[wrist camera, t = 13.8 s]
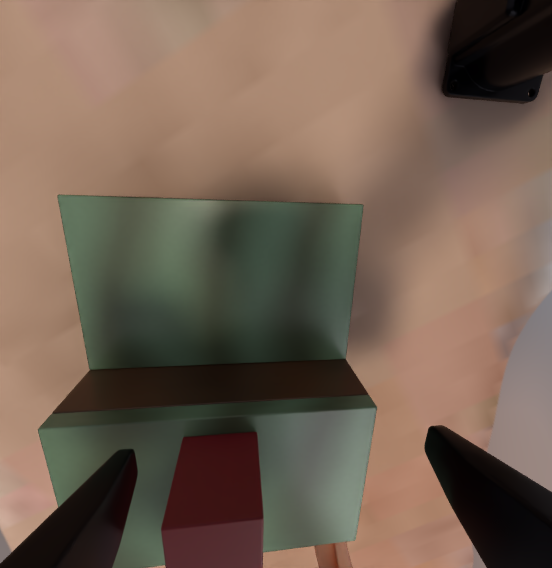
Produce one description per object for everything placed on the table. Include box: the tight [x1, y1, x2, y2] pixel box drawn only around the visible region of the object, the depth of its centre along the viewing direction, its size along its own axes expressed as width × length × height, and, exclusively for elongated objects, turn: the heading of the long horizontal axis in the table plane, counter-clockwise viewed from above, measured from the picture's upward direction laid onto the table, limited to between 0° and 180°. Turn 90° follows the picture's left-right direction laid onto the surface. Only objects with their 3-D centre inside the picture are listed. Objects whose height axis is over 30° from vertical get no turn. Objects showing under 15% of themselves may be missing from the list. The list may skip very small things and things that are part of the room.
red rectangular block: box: [161, 432, 264, 568], centre depth 13 cm, size 4×8×4 cm, turn 178°
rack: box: [38, 195, 377, 568], centre depth 17 cm, size 16×20×8 cm
